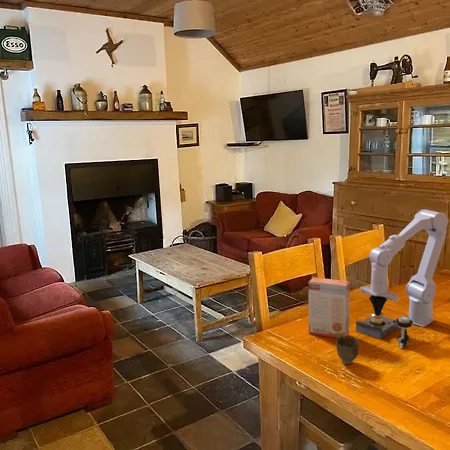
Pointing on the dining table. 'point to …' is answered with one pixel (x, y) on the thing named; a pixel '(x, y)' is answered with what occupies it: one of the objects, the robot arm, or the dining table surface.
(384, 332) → the jig
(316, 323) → the cracker box
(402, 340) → the push button
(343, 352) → the cup
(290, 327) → the dining table surface
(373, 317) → the brass door knob
